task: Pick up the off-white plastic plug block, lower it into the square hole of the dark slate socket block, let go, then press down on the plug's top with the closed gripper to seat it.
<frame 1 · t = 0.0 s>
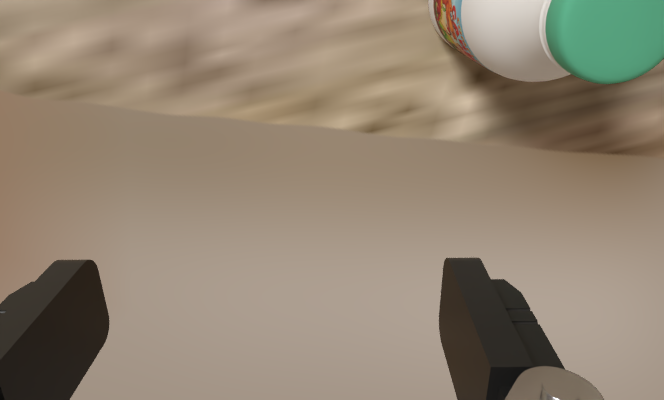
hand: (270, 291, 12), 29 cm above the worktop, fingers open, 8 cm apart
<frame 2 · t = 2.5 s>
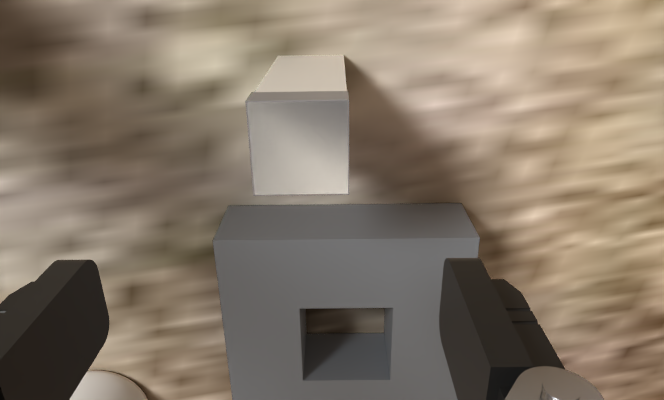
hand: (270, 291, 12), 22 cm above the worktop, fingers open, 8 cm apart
plug: (311, 88, 32), on the worktop
socket block: (345, 301, 39), on the worktop
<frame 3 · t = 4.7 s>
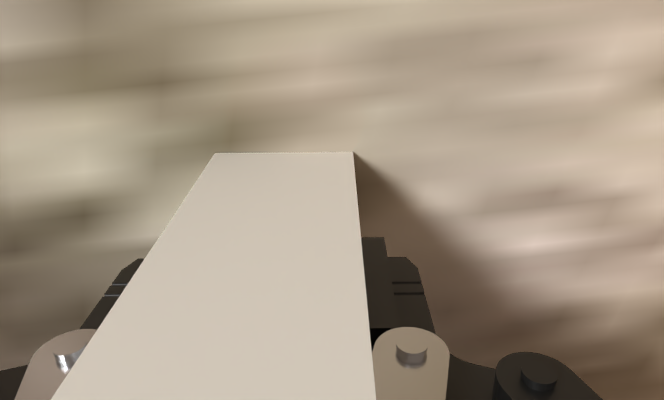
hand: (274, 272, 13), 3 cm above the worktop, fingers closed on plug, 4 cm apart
plug: (287, 214, 16), on the worktop, touching gripper
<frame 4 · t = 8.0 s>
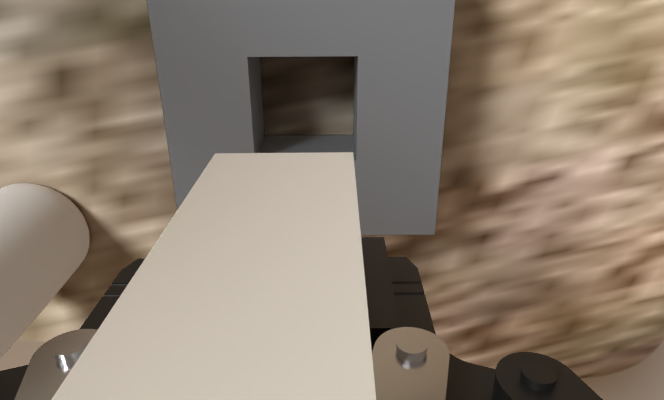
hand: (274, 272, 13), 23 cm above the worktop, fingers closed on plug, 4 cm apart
plug: (287, 215, 16), point 19 cm above the worktop, touching gripper
milk bottle: (41, 226, 38), on the worktop
socket block: (307, 91, 34), on the worktop
when the fingers open (6 cm above the worktop, at t = 11.6 s): plug drops 3 cm, resting in socket block.
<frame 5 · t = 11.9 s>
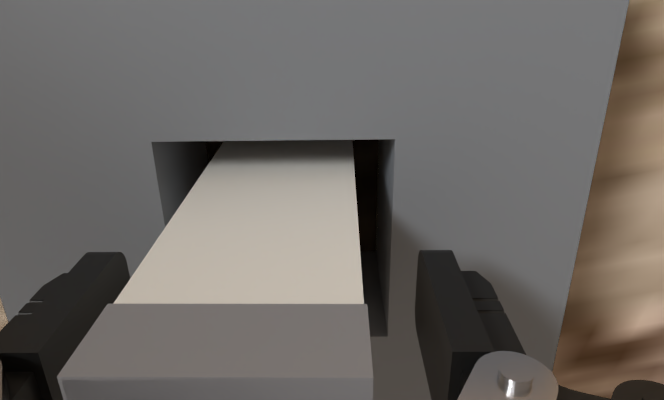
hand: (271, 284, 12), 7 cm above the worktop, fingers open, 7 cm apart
plug: (295, 179, 18), resting in socket block
socket block: (293, 178, 18), on the worktop
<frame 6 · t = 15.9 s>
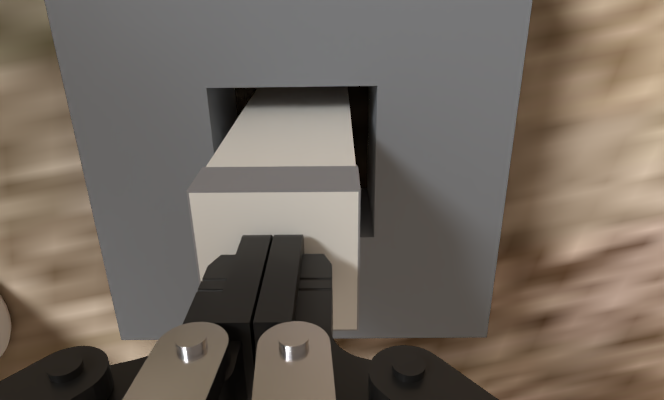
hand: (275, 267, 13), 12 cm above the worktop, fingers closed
plug: (304, 129, 24), resting in socket block, touching gripper
socket block: (303, 129, 24), on the worktop
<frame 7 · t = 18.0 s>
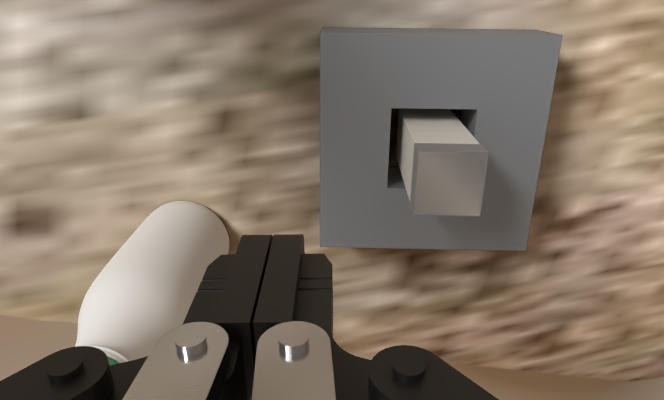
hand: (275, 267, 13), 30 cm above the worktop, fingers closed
plug: (421, 132, 42), resting in socket block
milk bottle: (188, 237, 46), on the worktop
socket block: (421, 132, 42), on the worktop
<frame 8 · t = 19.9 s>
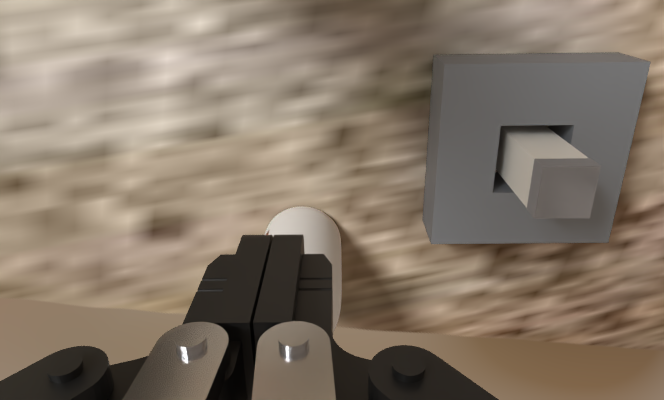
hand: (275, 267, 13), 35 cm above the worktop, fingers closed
plug: (514, 142, 48), resting in socket block
milk bottle: (303, 237, 52), on the worktop
socket block: (513, 141, 48), on the worktop
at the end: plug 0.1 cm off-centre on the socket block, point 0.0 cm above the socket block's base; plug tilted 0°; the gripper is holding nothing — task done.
